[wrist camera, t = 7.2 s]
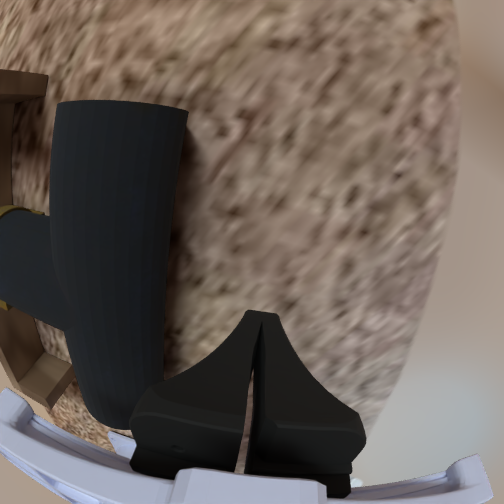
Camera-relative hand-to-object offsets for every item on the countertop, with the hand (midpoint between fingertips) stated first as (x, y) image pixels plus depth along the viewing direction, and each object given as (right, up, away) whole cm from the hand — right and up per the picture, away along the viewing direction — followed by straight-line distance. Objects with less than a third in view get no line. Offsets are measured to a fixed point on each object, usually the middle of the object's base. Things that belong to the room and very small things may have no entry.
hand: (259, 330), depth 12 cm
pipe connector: (-9, +3, +2) cm, 10 cm away
